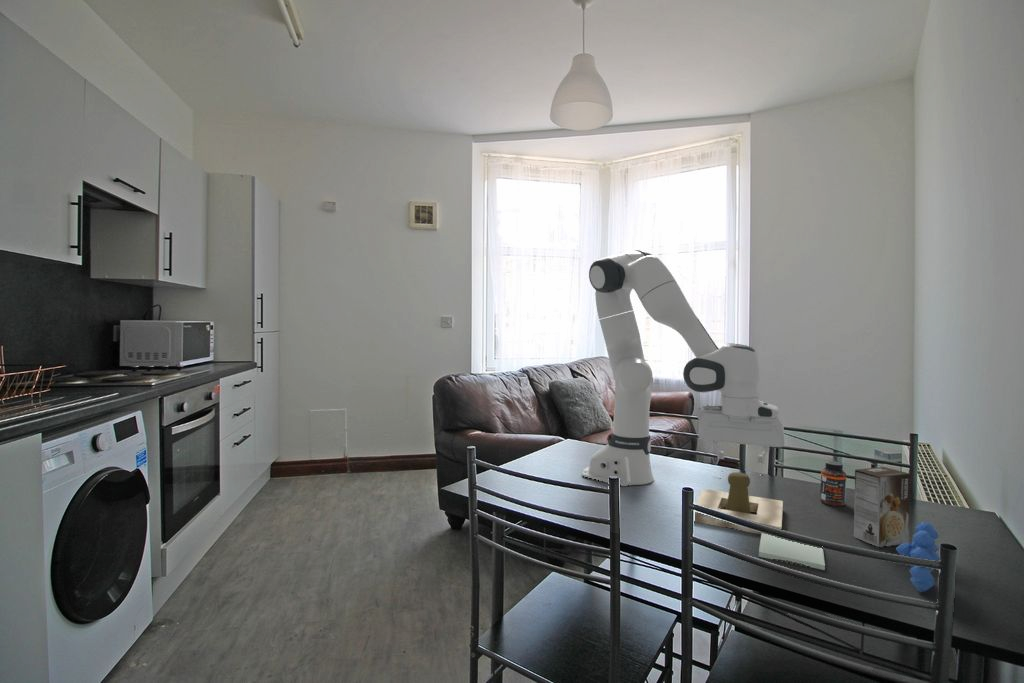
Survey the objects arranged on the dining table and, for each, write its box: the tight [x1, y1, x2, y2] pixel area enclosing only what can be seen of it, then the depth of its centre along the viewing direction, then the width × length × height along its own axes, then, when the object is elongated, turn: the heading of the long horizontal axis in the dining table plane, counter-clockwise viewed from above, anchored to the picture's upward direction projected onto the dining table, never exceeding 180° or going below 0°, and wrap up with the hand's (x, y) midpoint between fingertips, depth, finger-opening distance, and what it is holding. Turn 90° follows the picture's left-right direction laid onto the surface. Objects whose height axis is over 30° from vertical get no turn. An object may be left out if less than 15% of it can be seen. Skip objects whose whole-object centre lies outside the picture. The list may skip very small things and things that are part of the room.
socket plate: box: [694, 488, 784, 535], centre depth 130 cm, size 20×20×2 cm
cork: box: [725, 471, 752, 514], centre depth 130 cm, size 6×6×11 cm
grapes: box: [895, 521, 941, 593], centre depth 96 cm, size 12×7×12 cm, turn 135°
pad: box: [758, 533, 826, 571], centre depth 110 cm, size 12×12×1 cm
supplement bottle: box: [819, 460, 847, 507], centre depth 140 cm, size 6×6×11 cm
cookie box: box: [853, 466, 911, 548], centre depth 116 cm, size 9×6×16 cm
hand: (740, 460), depth 130 cm, fingers open, 8 cm apart
